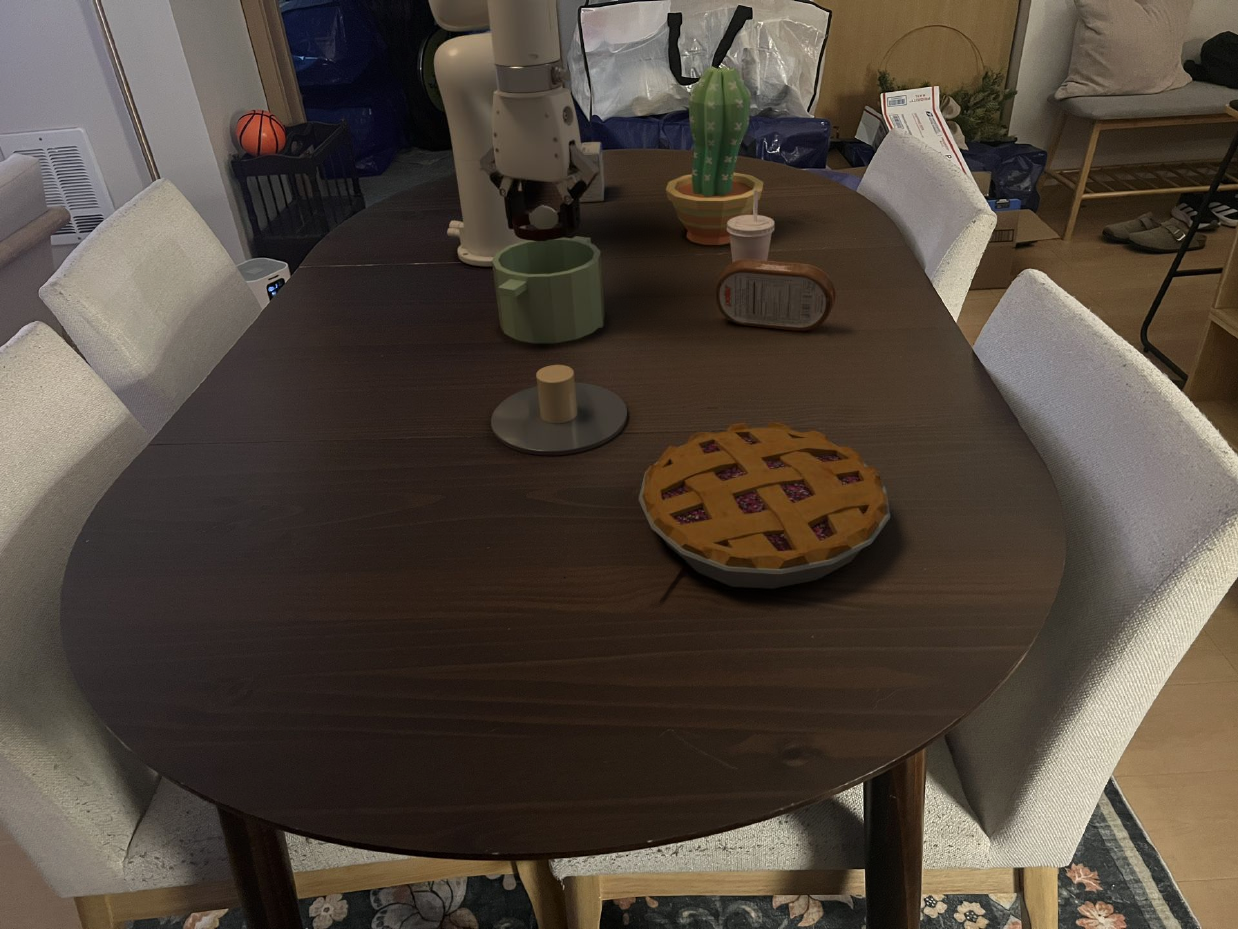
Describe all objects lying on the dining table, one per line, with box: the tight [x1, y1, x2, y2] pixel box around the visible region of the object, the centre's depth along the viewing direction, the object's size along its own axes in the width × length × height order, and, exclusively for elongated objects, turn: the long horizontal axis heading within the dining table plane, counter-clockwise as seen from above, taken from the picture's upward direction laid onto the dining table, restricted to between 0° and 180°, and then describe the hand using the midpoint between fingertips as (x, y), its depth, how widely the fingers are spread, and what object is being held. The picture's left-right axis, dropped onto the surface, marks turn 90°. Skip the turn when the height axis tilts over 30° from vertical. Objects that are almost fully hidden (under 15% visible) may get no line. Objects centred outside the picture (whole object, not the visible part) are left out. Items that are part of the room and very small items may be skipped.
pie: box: [638, 421, 891, 589], centre depth 83 cm, size 22×22×5 cm
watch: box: [512, 204, 567, 241], centre depth 115 cm, size 8×5×4 cm, turn 91°
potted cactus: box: [665, 65, 764, 246], centre depth 141 cm, size 15×15×25 cm
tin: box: [714, 259, 836, 332], centre depth 116 cm, size 15×3×8 cm, turn 71°
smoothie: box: [727, 189, 775, 263], centre depth 125 cm, size 6×6×14 cm
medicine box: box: [576, 141, 605, 203], centre depth 166 cm, size 8×4×9 cm, turn 179°
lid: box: [490, 364, 628, 457], centre depth 99 cm, size 15×15×6 cm
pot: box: [492, 235, 605, 344], centre depth 120 cm, size 14×19×10 cm
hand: (543, 228), depth 115 cm, fingers closed on watch, 7 cm apart
